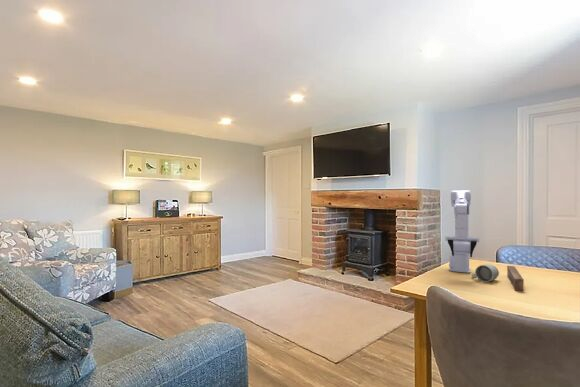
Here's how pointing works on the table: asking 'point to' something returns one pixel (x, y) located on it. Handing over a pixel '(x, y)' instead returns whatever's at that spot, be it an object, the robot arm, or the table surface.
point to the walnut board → (515, 278)
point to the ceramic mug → (486, 273)
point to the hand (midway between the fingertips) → (461, 256)
